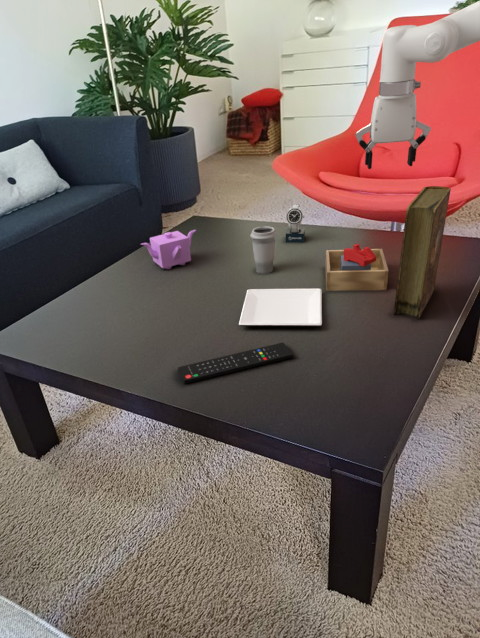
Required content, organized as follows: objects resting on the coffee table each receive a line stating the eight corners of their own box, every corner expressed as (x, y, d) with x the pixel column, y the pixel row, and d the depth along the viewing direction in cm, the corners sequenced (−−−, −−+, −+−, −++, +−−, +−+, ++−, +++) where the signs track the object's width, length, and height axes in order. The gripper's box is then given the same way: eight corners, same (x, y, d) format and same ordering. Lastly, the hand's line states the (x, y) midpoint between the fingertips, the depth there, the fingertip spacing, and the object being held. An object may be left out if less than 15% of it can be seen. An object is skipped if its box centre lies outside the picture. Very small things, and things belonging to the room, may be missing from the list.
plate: (247, 295, 136) (247, 288, 135) (321, 295, 132) (321, 287, 131) (238, 331, 121) (238, 323, 120) (321, 332, 117) (321, 324, 116)
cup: (275, 265, 151) (274, 224, 144) (279, 274, 145) (278, 232, 138) (250, 267, 151) (248, 227, 144) (253, 277, 145) (251, 235, 139)
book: (411, 287, 131) (425, 185, 117) (434, 291, 128) (452, 186, 114) (393, 317, 120) (406, 207, 106) (418, 321, 117) (435, 209, 103)
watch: (284, 245, 162) (284, 210, 156) (287, 236, 169) (287, 202, 163) (303, 245, 161) (303, 210, 155) (305, 236, 167) (305, 201, 161)
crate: (380, 268, 142) (382, 248, 139) (386, 291, 130) (388, 271, 127) (325, 269, 145) (325, 250, 142) (326, 292, 133) (327, 272, 130)
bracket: (343, 260, 135) (344, 249, 133) (355, 254, 137) (356, 243, 136) (363, 266, 131) (364, 255, 129) (376, 260, 133) (377, 249, 131)
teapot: (153, 279, 150) (148, 247, 145) (138, 265, 161) (132, 234, 155) (209, 264, 156) (206, 232, 151) (190, 251, 166) (187, 221, 161)
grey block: (367, 272, 139) (368, 254, 137) (369, 283, 134) (371, 265, 131) (339, 272, 141) (340, 255, 138) (341, 283, 135) (342, 265, 132)
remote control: (293, 359, 109) (293, 354, 108) (182, 386, 105) (181, 381, 104) (283, 347, 113) (283, 342, 113) (176, 373, 109) (175, 367, 109)
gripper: (432, 83, 123) (423, 160, 132) (356, 91, 126) (352, 165, 135) (439, 87, 116) (429, 167, 126) (358, 95, 120) (354, 172, 129)
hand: (389, 166), depth 131 cm, fingers open, 9 cm apart
